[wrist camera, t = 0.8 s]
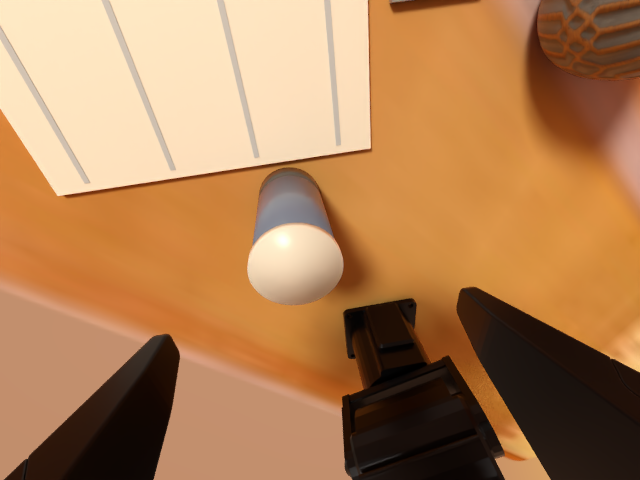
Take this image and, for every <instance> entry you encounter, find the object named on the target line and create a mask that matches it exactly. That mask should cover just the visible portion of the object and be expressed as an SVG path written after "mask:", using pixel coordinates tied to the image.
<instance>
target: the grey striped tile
mask: <svg viewBox="0 0 640 480" xmlns="http://www.w3.org/2000/svg"><path fill="white" fill-rule="evenodd" d="M405 1H413V0H390V3H398V2H405Z"/></svg>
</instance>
